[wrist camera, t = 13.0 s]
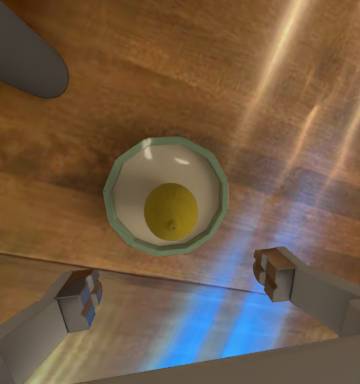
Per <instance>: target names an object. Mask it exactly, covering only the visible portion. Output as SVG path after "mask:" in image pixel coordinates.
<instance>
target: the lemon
mask: <svg viewBox="0 0 360 384" xmlns="http://www.w3.org/2000/svg"><path fill="white" fill-rule="evenodd" d="M144 218H145V222H146V224H147V226H148V228H149V230H150V231H151V232H152V233H153V234H154V235H155V236H156V237H158V238H160V239H162V240H165V241H177V240H180V239H183V238H185V237H186V236H188V235H189V234H190V233H191V232H192V231H193V229H194V227H195V226H196V223H197V219H198V205H197V202H196V199H195V197H194V196H193V194H192V193H191V192H190V191H189V190H188V189H187V188H186V187H184V186H182V185H180V184H176V183H165V184H161V185H159V186H158V187H156V188H155V189H154V190H152V191H151V192H150V194H149V195H148V197H147V199H146V202H145V205H144Z"/></svg>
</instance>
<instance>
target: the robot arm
mask: <svg viewBox="0 0 360 384" xmlns="http://www.w3.org/2000/svg"><path fill="white" fill-rule="evenodd" d="M254 258H255V259H256V261H255V262H254V264H253V271H254V275H255V277H256V279H257V281H258V282H259V283H260V284H261V285H263V286H265V288H264V291H265V292H266V294H267V295H268V296H269V298H270V299H271V301H272V302H281V301H290V302H292V303H293V304H295V305H296V306H297V307H299V308H300V309H302V310H303V311H305V312H306V313H308V314H309V315H310V316H312V317H313V318H315V319H316V320H318V321H319V322H321V323H322V324H323V325H325V326H326V327H328V328H329V329H331V330H332V331H333V332H335V333H336V334H338V335H339V337H338V338H335V339H330V340H324V341H318V342H312V343H306V344H301V345H295V346H289V347H283V348H278V349H272V350H266V351H261V352H255V353H249V354H243V355H238V356H232V357H226V358H221V359H215V360H209V361H203V362H197V363H191V364H186V365H180V366H174V367H168V368H162V369H156V370H151V371H145V372H139V373H133V374H127V375H122V376H116V377H110V378H104V379H98V380H93V381H87V382H81V383H75V384H360V285H358V284H356V283H353V282H351V281H348V280H345V279H343V278H340V277H338V276H335V275H333V274H330V273H328V272H325V271H323V270H320V269H317V268H315V267H312V266H310V267H309V266H307V265H306V264H305V263H304V262H303V261H301V260H300V259H299V258H298V257H296V256H295V255H294V254H293V253H291V252H290V251H289V250H288V249H287V248H285V247H275V248H270V249H262V250H255V252H254ZM99 276H100V275H99V272H98V270H97V269H88V270H77V271H69V272H64V273H62V274H61V275H60V276H59V277H58V279H57V280H56V281H55V282H54V284H53V285H52V286H51V287H50V289H49V290H48V291H47V292H46V294H45V295H44V296H43V298H42V299H41V300H40V301H39V302H35V303H33V304H32V305H30V306H29V307H27V308H26V309H24V310H23V311H21V312H20V313H18V314H17V315H15V316H14V317H12V318H11V319H9V320H8V321H6V322H5V323H3V324H2V325H0V384H23V383H24V382H25V381H26V380H27V379H28V378H29V377H30V376H31V374H32V373H33V372H34V371H35V370H36V369H37V368H38V367H39V366H40V365H41V364H42V362H43V361H44V360H45V359H46V358H47V357H48V356H49V355H50V354H51V353H52V351H53V350H54V349H55V348H56V347H57V346H58V345H59V344H60V343H61V342H62V341H63V339H64V338H65V337H66V336H67V335H68V333H72V332H77V331H83V330H88V329H90V326H91V324H92V321H93V319H94V316H95V311H94V309H95V308H96V307H97V306H98V305H99V303H100V301H101V297H102V284H101V282H100V281H98V278H99Z"/></svg>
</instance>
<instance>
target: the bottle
mask: <svg viewBox="0 0 360 384" xmlns="http://www.w3.org/2000/svg"><path fill="white" fill-rule="evenodd" d="M0 81H2V82H4V83H6V84H9V85H11V86H14V87H16V88H18V89H21V90H23V91H26V92H28V93H31V94H33V95H36V96H38V97H42V98H54V97H57V96H59V95H60V94H62V93H63V91H64V90H65V89H66V86H67V83H68V72H67V68H66V65H65V63H64V61H63V60H62V58H61V57H60V56H59V55H58V54H57V53H56V52H55V51H54V50H53V49H52V48H51V47H50V46H49V45H48V44H47V43H46V42H45V41H44V40H43V39H42V38H40V37H39V36H38V35H37V34H36V33H35V32H34V31H33V30H32V29H31V28H30V27H29V26H27V25H26V24H25V23H24V22H23V21H22V20H21V19H20V18H19V17H18V16H17V15H15V14H14V13H13V12H12V11H11V10H10V9H9V8H8V7H7V6H6V5H4V4H3V3H2V2H1V1H0Z"/></svg>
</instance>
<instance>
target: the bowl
mask: <svg viewBox="0 0 360 384" xmlns="http://www.w3.org/2000/svg"><path fill="white" fill-rule="evenodd" d="M165 183H176V184H180V185H182V186H184V187H186V188H187V189H188V190H189V191H190V192H191V193H192V194H193V196H194V197H195V199H196V202H197V205H198V219H197V223H196V226H195V227H194V229H193V231H192V232H191V233H190V234H189V235H188V236H186V237H185V238H183V239H180V240H177V241H165V240H162V239H160V238H158V237H156V236H155V235H154V234H153V233H152V232H151V231H150V230H149V228H148V226H147V224H146V222H145V218H144V205H145V202H146V199H147V197H148V195H149V194H150V192H151V191H152V190H154V189H155V188H156V187H158V186H159V185H161V184H165ZM228 189H229V182H228V179H227V177H226V175H225V173H224V172H223V170H222V168H221V166H220V165H219V163H218V161H217V159H216V158H215V156H214V154H212V152H210V151H208V150H206V149H205V148H203V147H201V146H199V145H197V144H195V143H194V142H192V141H190V140H188V139H186V138H184V137H182V138H181V136H177V137H158V138H146V139H144V140H142V141H141V142H139V143H138V144H136V145H135V146H134V147H132V148H131V149H129V150H128V151H126V152H125V153H123V154H122V155H121V156H119V157H118V158H117V160H115V162H114V164H113V167H112V169H111V171H110V174H109V176H108V179H107V181H106V183H105V186H104V188H103V190H104V191H103V197H104V202H105V207H106V213H107V218H108V222H110V223H109V224H110V225H111V227H112V228H113V229H114V230H115V231H116V232H117V233H118V234H119V236H120V237H121V238H122V239H123V240H124V241H125V242H126V243H127V244H128V246H129V245H130V247H133V248H135V249H138V250H141V251H144V252H146V253H149V254H152V255H155V256H158V255H159V257H160V256H169V255H177V254H186V253H187V252H188V253H189V252H191V251H192V250H194V249H195V248H197V247H198V246H200V245H201V244H203V243H205V242H206V241H208V240H209V239H211V238H212V236H214V234H215V233H216V231H217V229H218V228H219V226H220V224H221V223H222V221H223V219H224V217H225V216H226V214H227V211H228Z"/></svg>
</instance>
